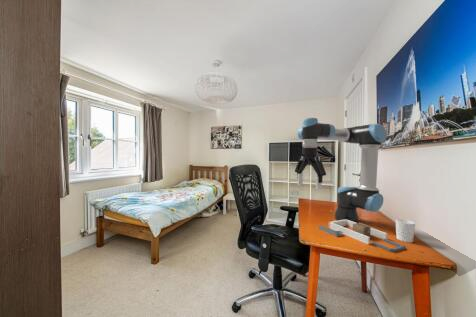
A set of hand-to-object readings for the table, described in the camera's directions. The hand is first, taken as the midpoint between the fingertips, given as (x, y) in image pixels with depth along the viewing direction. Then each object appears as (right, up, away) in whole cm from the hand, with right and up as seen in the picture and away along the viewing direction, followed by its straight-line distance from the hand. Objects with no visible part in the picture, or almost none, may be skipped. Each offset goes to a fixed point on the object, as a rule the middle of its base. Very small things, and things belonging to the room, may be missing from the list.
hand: (308, 187), depth 102 cm
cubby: (+30, -28, +7) cm, 41 cm away
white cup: (+51, -28, 0) cm, 59 cm away
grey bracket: (+36, -28, -8) cm, 46 cm away
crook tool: (+16, -28, +9) cm, 33 cm away
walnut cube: (+31, -28, +4) cm, 42 cm away
